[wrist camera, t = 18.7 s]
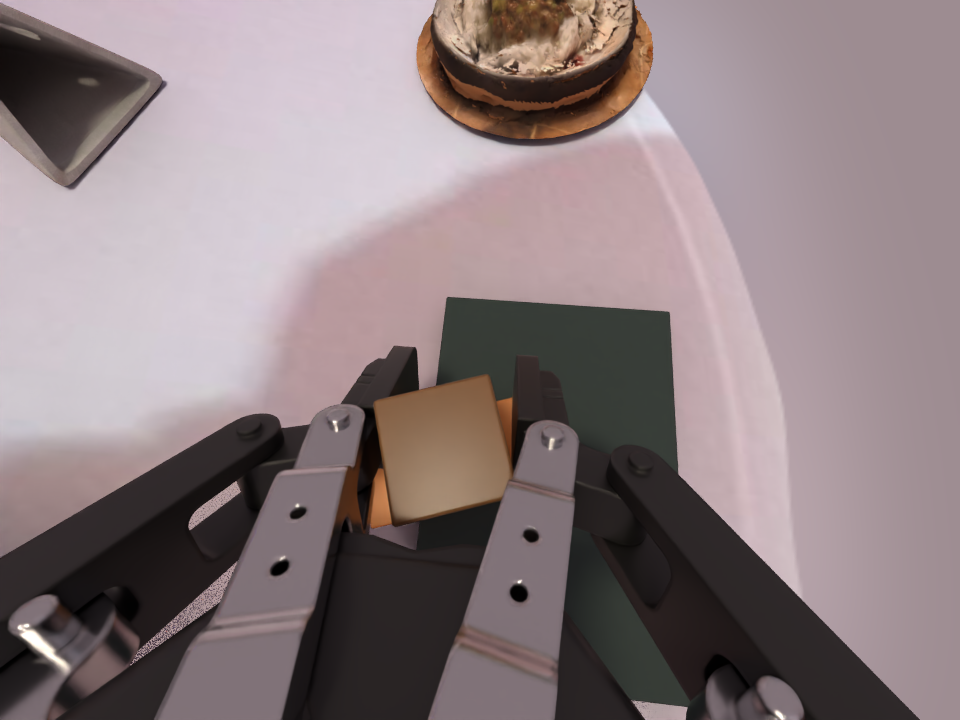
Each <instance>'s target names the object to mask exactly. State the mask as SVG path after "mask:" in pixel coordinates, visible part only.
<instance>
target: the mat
mask: <svg viewBox="0 0 960 720" xmlns="http://www.w3.org/2000/svg"><path fill="white" fill-rule="evenodd" d="M517 355H528V356H538V361H539V370H541V371H552V372H553V373H554V374H555V375H556V376H557V377H558V378H559V379H560V382H561V387H562V392H563V397H564V398H563V399H564V402H565V407H566V412H567V417H568V422H569V427H570V428H572V429H573V430H574V431H575V433H576V434H577V436H578V438H579V442H581V443H582V444H584V445H585V446H587V447H589V448H591V449H594V450H597V451H600V452H603V453H606V454H610V455H611V453H612V452H613V450H614V449H615V448H617V447H619V446H622V445H637V446H641V447H644V448H647V449H649V450H651V451H653V452H655V453H656V454H658V455H659V456H660V457H661V458H663V459H664V460H665V461H666V462H667V463H668V464H669V465H670V466H671V468H672V469H673V470H674V471H675V472H676V473H677V474H678V461H677V442H676V423H675V404H674V386H673V367H672V348H671V329H670V313H669V312H665V311H650V310H635V309H620V308H605V307H590V306H575V305H560V304H545V303H530V302H515V301H500V300H485V299H470V298H455V297H447V300H446V308H445V316H444V325H443V333H442V341H441V350H440V358H439V366H438V375H437V383H436V386H438V385H442V384H446V383H450V382H455V381H459V380H463V379H467V378H471V377H476V376H480V375H484V374H488V375H489V376H490V378H491V382H492V386H493V390H494V394H495V398H496V401H499V400H504V399H508V398H512V396H513V385H514V375H515V365H516V356H517ZM500 503H501V501H498V502H494V503H490V504H486V505H482V506H478V507H474V508H470V509H466V510H462V511H458V512H454V513H450V514H446V515H442V516H438V517H434V518H430V519H426V520H422V521H420V524H419V533H418V541H417V549H416V550H424V549H431V548H438V547H445V546H452V545H458V544H470V545H480V546H487V544H488V541H489V538H490V535H491V532H492V528H493V525H494V522H495V519H496V516H497V513H498V510H499V507H500ZM564 609H565V611H566V612H567V613H568V615H569V616H570V618H571V619H572V620H573V622H574V623H575V624H576V626H577V627H578V629H579V630H580V631H581V633H582V634H583V635H584V637H585V638H586V639H587V641H588V642H589V644H590V645H591V646H592V648H593V649H594V650H595V652H596V653H597V654H598V656H599V657H600V659H601V660H602V661H603V663H604V664H605V665H606V667H607V668H608V670H609V671H610V672H611V674H612V675H613V676H614V678H615V679H616V680H617V682H618V683H619V685H620V686H621V687H622V689H623V690H624V691H625V693H626V694H627V695H628V697H629V698H630V700H635V701H643V702H651V703H659V704H667V705H676V706H684V707H688V705H689V703H690V700H689V699H688V697H687V695H686V694H685V692H684V690H683V689H682V687H681V685H680V684H679V682H678V680H677V679H676V677H675V675H674V674H673V672H672V670H671V669H670V667H669V665H668V664H667V662H666V660H665V659H664V657H663V655H662V654H661V652H660V651H659V649H658V647H657V646H656V644H655V642H654V641H653V639H652V637H651V636H650V634H649V632H648V631H647V629H646V627H645V626H644V624H643V622H642V621H641V619H640V617H639V616H638V614H637V612H636V611H635V609H634V607H633V606H632V604H631V602H630V601H629V599H628V597H627V596H626V594H625V593H624V591H623V589H622V588H621V586H620V584H619V583H618V581H617V579H616V578H615V576H614V574H613V573H612V571H611V569H610V568H609V566H608V564H607V563H606V561H605V559H604V558H603V556H602V554H601V553H600V551H599V549H598V548H597V546H596V544H595V543H594V541H593V539H592V537H591V533H589V532H586V531H584V530H581V529H579V528H576V527H574V526H572V534H571V544H570V554H569V563H568V573H567V582H566V592H565V601H564Z"/></svg>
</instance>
